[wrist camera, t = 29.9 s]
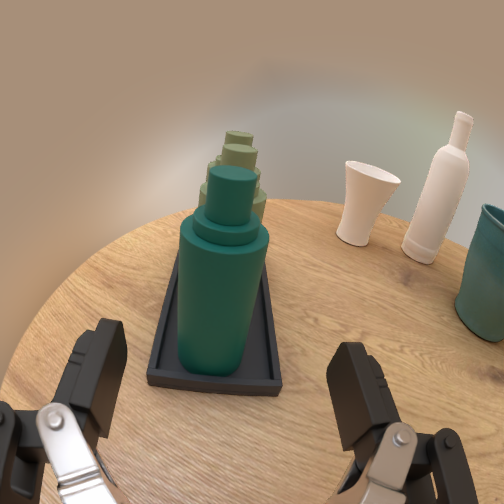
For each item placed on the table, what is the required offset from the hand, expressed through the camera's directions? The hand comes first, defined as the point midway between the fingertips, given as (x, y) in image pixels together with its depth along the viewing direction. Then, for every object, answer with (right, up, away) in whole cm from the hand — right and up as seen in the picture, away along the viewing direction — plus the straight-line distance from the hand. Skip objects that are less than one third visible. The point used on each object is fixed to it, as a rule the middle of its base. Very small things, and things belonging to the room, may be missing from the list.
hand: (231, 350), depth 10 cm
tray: (-3, -2, +23) cm, 24 cm away
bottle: (+34, +3, +44) cm, 56 cm away
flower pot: (+39, -8, +28) cm, 48 cm away
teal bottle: (-3, -6, +16) cm, 18 cm away
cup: (+20, +6, +45) cm, 49 cm away
